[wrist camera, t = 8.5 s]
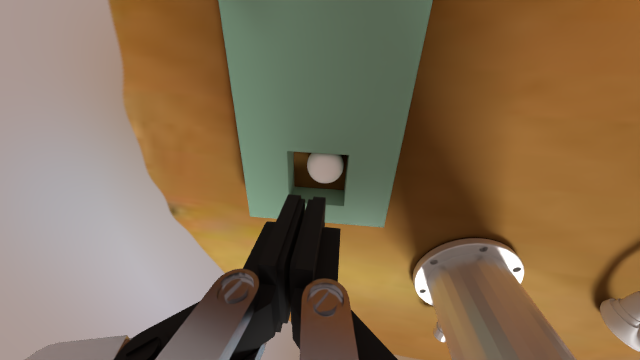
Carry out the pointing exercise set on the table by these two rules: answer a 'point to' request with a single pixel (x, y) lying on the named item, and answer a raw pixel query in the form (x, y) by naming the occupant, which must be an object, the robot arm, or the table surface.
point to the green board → (323, 95)
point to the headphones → (624, 318)
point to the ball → (325, 167)
